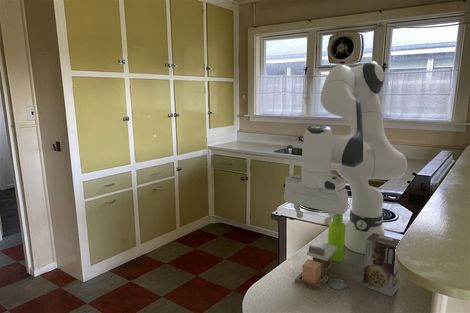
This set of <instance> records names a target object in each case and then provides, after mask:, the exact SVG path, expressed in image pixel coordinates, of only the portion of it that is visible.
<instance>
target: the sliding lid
mask: <svg viewBox="0 0 470 313" xmlns="http://www.w3.org/2000/svg"><path fill="white" fill-rule="evenodd" d="M337 249H338V247H337V246H334V245H330V244H328V243H326V242H322V241H317V242H316V243H315V244H314V245H312V244H310V245H309V246H308V250H307V252H306V255H307V256H308V257H312V258H313V257H315V258H318V259H321V260H325V261H328V260H329V259H330V257H331V256H332V255H333V254H334V253H335V252H336V251H337Z"/></svg>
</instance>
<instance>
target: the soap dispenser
mask: <svg viewBox="0 0 470 313" xmlns="http://www.w3.org/2000/svg"><path fill="white" fill-rule="evenodd" d="M343 215H344V214H343ZM343 215H339V214H335V215H334V217H333V218H332V221H331V225H328V230H327V231H328V233H327V244H330V245H334V246H337V247H338V249H337V251H336V252H335V253H334V254H333V255H332V256H331V262H342V261H343V260H344V257H345V256H344V254H345V253H344V252H345V244H344V243H345V229H346V223H344V222H343V217H344V216H343Z"/></svg>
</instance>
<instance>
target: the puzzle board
mask: <svg viewBox="0 0 470 313" xmlns="http://www.w3.org/2000/svg"><path fill="white" fill-rule="evenodd" d="M312 260H313V261H316V262H319V263H321V279H320V281H319V282H318V283H317V285H315V284H312V283H309V282H306V281H303V280H302V272H300V273H299V275H297V276H296V277H295V279H294V283H295V284H298V285H301V286H304V287H306V288H310V289H313V290H315V291H320V289H321V288H322V286H323V285H324V284H325V283H326V282H327V281H328V275H325V274H324V273H325V272H326V271H327V270H328V268H330V266H331V264H332V260H331V257H330V259H329V260H328V261H325V260H321V259H318V258H315V257H312Z"/></svg>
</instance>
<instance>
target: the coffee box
mask: <svg viewBox="0 0 470 313" xmlns="http://www.w3.org/2000/svg"><path fill="white" fill-rule="evenodd" d="M384 235H385V234H384ZM384 235H380V234H376V233H372V234H371V235H370V236H369V237H368V238H367V239H366V248H365V254H364V264H363V276H362V277H363V279H362V286H363V287H365V288H367V289H371V290H372V291H373V290H374V291H376V292H379V293H381V294H384V295H387V296H389V297H393V296H394V294H395V293H396V292H397V290H398V289H399V288H398V287H399V280H400V279H399V277H400V269H399V268H398V267H397V265H396V263H395V249H396V246H397V245H398V243H399V241H400V240H401V239H397V238H396V237H395V238H394V237H392V236H388V235H386V236H384ZM387 236H388V237H387Z"/></svg>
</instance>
